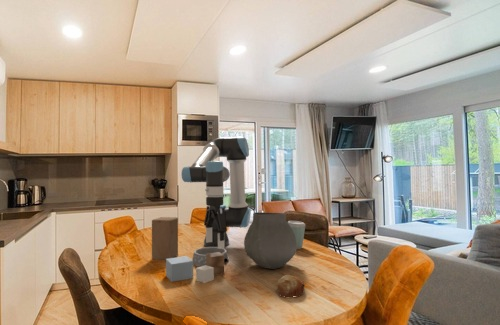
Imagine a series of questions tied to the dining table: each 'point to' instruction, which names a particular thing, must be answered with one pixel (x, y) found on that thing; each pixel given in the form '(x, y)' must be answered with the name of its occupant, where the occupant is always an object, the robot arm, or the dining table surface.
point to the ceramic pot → (270, 240)
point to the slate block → (179, 268)
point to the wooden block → (164, 238)
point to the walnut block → (216, 262)
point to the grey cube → (204, 273)
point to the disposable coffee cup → (298, 232)
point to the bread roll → (290, 286)
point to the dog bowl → (200, 255)
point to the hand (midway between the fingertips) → (214, 245)
